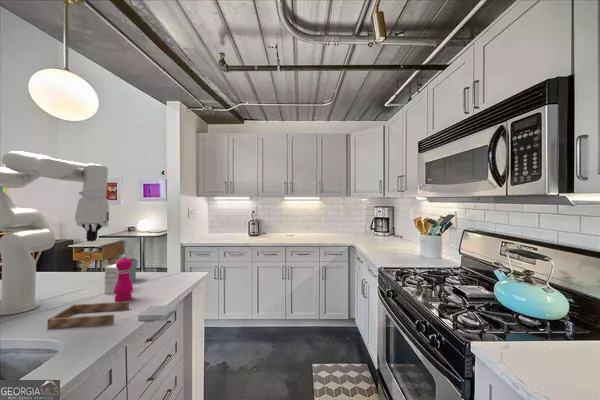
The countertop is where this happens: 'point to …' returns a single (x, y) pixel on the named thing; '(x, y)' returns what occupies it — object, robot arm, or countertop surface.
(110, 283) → the supplement box
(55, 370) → the countertop surface
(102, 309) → the wooden u-shaped frame
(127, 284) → the pepper mill
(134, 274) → the drinking glass
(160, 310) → the cover plate
